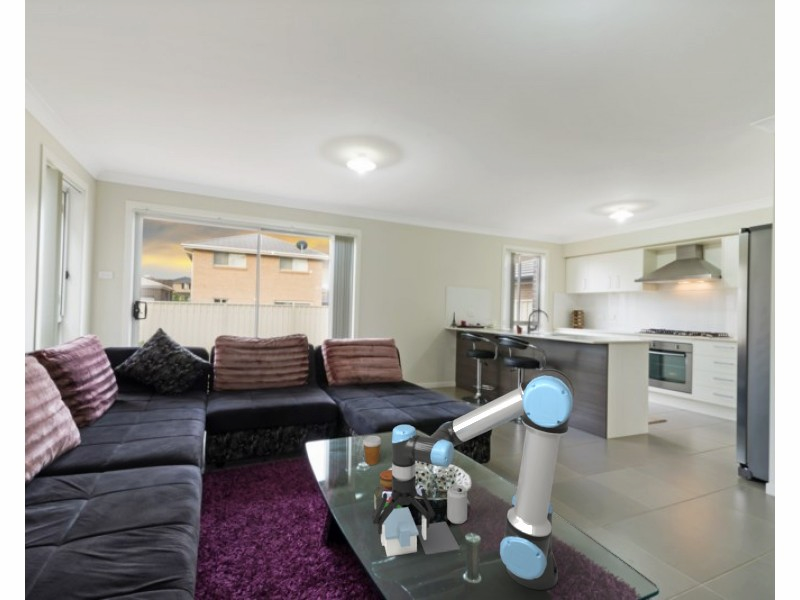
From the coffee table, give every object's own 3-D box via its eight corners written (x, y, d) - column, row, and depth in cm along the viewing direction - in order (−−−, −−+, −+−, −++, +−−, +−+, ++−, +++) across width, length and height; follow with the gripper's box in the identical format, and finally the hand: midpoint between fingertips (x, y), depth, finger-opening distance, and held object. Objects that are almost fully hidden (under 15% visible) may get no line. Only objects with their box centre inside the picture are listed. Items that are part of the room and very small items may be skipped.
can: (466, 526, 139) (466, 494, 139) (446, 524, 141) (446, 492, 140) (467, 514, 147) (467, 484, 146) (448, 512, 148) (447, 482, 148)
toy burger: (408, 504, 154) (408, 467, 153) (399, 522, 142) (399, 483, 141) (380, 500, 157) (380, 464, 157) (370, 517, 145) (369, 479, 145)
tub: (416, 551, 126) (416, 534, 126) (387, 556, 124) (387, 538, 124) (407, 526, 140) (407, 510, 139) (380, 530, 137) (380, 513, 137)
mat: (460, 549, 127) (460, 548, 127) (425, 554, 124) (425, 553, 124) (445, 522, 142) (445, 521, 142) (414, 527, 139) (414, 525, 139)
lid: (422, 543, 121) (422, 528, 121) (388, 549, 119) (388, 533, 119) (408, 509, 140) (408, 495, 140) (378, 513, 138) (378, 499, 138)
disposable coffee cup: (360, 459, 194) (360, 436, 194) (378, 457, 197) (378, 434, 197) (364, 468, 185) (364, 443, 185) (383, 465, 188) (383, 441, 188)
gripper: (437, 465, 127) (437, 527, 128) (363, 473, 122) (363, 537, 123) (444, 476, 120) (444, 542, 121) (366, 485, 115) (366, 553, 116)
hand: (403, 540), depth 122 cm, fingers open, 13 cm apart
